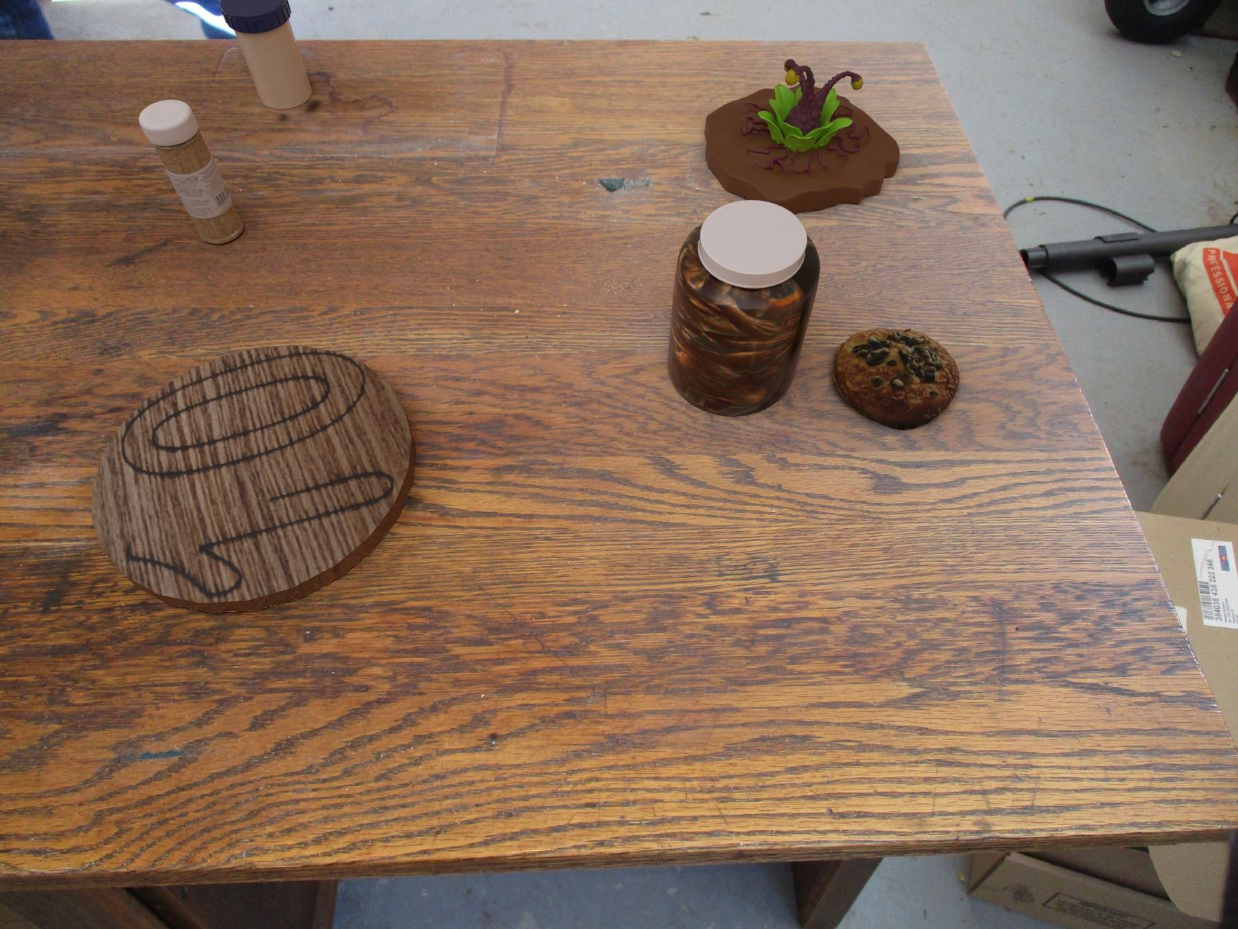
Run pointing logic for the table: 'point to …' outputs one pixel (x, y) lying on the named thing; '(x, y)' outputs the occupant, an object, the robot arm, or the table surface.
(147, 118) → the spice bottle
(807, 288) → the jar
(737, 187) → the plant
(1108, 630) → the table surface
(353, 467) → the trivet
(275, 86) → the beige cylindrical container
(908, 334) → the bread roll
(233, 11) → the lid
